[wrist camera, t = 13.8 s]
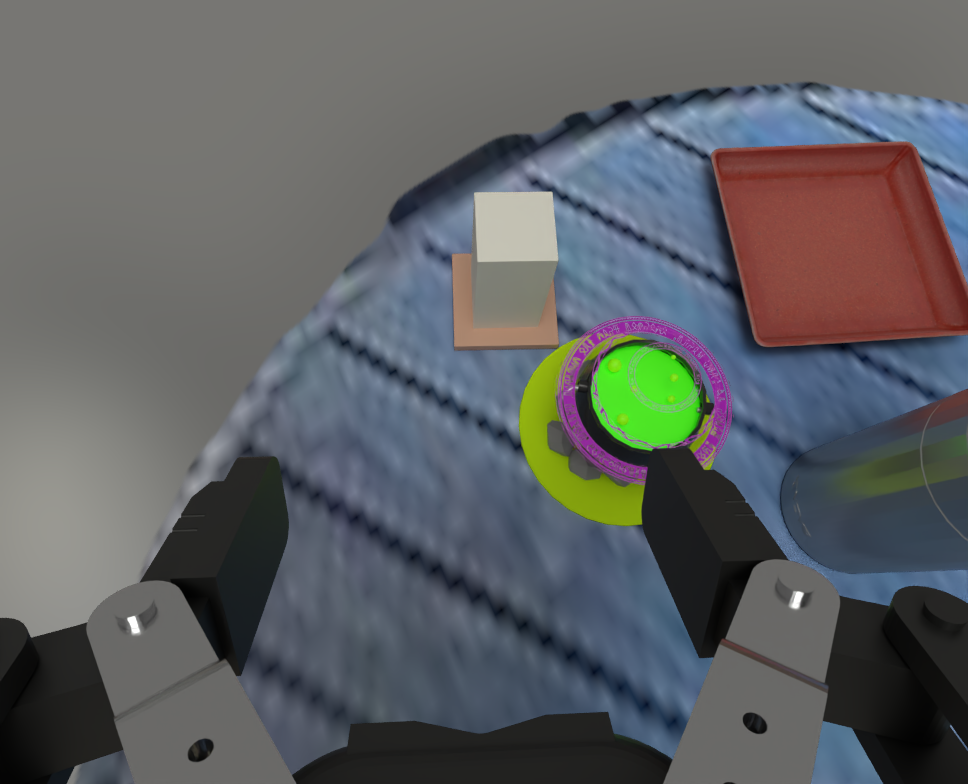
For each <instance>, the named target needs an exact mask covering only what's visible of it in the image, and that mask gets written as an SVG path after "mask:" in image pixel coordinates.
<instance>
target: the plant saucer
mask: <svg viewBox="0 0 968 784" xmlns="http://www.w3.org/2000/svg"><path fill="white" fill-rule="evenodd" d="M711 162H712V167H713V171H714V175H715V180H716V184H717V188H718V192H719V196H720V200H721V204H722V209H723V213H724V217H725V221H726V225H727V229H728V234H729V238H730V242H731V246H732V250H733V255H734V259H735V263H736V267H737V272H738V276H739V280H740V284H741V288H742V292H743V297H744V301H745V305H746V309H747V314H748V318H749V322H750V326H751V330H752V334H753V338H754V340H755V341H756V343H757V344H758V345H760V346H763V347H779V346H800V345H818V344H835V343H850V342H865V341H879V340H894V339H909V338H925V337H941V336H959V335H968V285H967V282H966V280H965V277H964V275H963V272H962V269H961V266H960V264H959V261H958V258H957V256H956V253H955V250H954V247H953V245H952V242H951V239H950V237H949V234H948V232H947V229H946V226H945V224H944V221H943V217H942V215H941V213H940V210H939V207H938V204H937V202H936V199H935V197H934V194H933V191H932V188H931V186H930V183H929V181H928V177H927V175H926V172H925V169H924V166H923V163H922V161H921V159H920V156H919V153H918V151H917V149H916V147H915V146H914V145H913V144H911V143H910V142H875V143H853V144H826V145H795V146H774V147H745V148H720V149H716V150H714V151H713V152H712V154H711Z"/></svg>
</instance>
